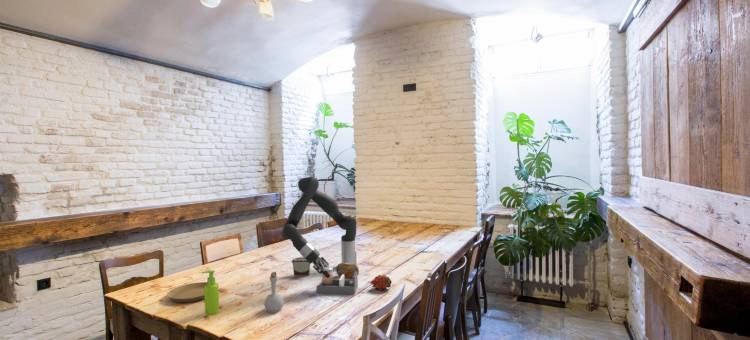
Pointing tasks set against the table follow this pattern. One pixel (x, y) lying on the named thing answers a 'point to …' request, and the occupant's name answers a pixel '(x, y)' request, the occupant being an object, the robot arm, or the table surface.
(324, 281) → the jar
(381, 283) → the dragon fruit
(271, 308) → the potion bottle
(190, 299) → the plant saucer
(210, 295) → the soap dispenser
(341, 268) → the brown lumpy slab
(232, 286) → the table surface
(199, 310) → the table surface
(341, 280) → the pusher
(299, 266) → the food container
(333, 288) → the grey low-walled tray
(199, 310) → the table surface
